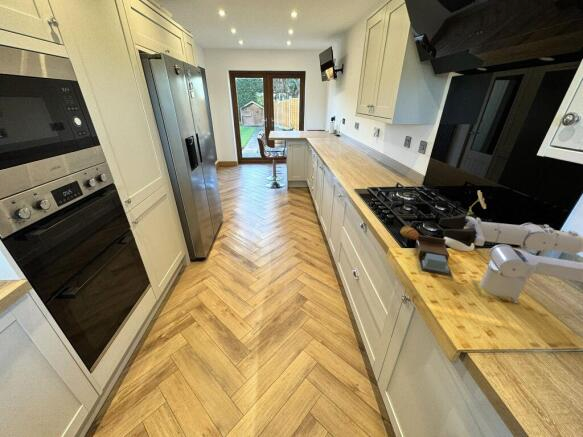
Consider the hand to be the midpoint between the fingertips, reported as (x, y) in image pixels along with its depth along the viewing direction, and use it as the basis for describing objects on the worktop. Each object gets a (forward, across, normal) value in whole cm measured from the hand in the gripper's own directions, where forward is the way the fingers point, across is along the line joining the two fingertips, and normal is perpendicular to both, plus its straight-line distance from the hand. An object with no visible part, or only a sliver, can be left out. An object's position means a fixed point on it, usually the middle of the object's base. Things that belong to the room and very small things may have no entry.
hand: (441, 226), depth 75 cm
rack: (-2, -10, +21) cm, 23 cm away
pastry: (+4, -29, +21) cm, 36 cm away
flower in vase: (-15, -27, +22) cm, 38 cm away
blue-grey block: (-2, -5, +20) cm, 20 cm away
